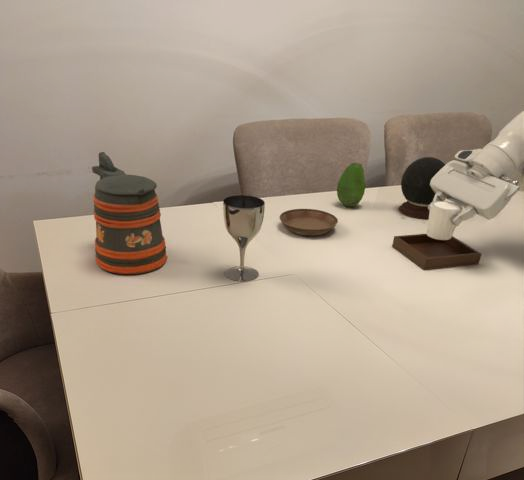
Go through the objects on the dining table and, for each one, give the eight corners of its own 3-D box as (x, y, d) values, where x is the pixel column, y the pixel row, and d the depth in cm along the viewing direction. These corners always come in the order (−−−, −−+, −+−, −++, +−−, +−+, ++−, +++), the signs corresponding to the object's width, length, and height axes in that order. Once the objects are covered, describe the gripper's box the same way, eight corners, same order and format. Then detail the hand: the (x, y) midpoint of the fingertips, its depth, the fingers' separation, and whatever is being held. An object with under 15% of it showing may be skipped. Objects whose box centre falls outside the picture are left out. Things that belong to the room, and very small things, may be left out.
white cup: (426, 227, 119) (433, 198, 115) (456, 233, 116) (464, 203, 112) (420, 237, 113) (428, 206, 109) (451, 243, 111) (460, 212, 107)
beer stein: (74, 250, 109) (57, 155, 98) (133, 236, 117) (124, 146, 106) (118, 282, 98) (105, 177, 87) (180, 263, 106) (176, 166, 95)
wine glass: (257, 284, 100) (260, 210, 92) (218, 279, 101) (218, 205, 93) (263, 267, 107) (267, 197, 98) (227, 263, 108) (228, 193, 99)
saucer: (295, 242, 120) (296, 231, 118) (269, 221, 131) (270, 211, 129) (347, 235, 125) (349, 225, 123) (318, 216, 136) (319, 206, 135)
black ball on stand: (396, 202, 150) (407, 149, 141) (442, 208, 147) (455, 155, 139) (394, 216, 139) (405, 160, 131) (443, 223, 136) (457, 166, 128)
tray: (443, 241, 125) (445, 231, 123) (478, 264, 114) (481, 253, 113) (391, 246, 120) (394, 236, 119) (423, 270, 110) (426, 259, 108)
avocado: (367, 206, 145) (374, 163, 139) (352, 212, 140) (359, 168, 134) (344, 199, 150) (349, 157, 143) (329, 205, 144) (334, 162, 138)
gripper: (529, 194, 104) (477, 242, 106) (464, 167, 119) (421, 211, 122) (519, 172, 100) (466, 224, 102) (454, 148, 115) (409, 193, 118)
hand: (441, 216), depth 112 cm, fingers closed on white cup, 7 cm apart
